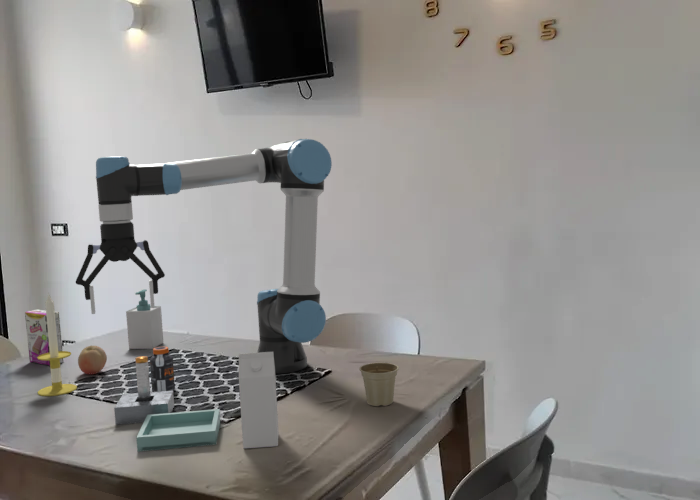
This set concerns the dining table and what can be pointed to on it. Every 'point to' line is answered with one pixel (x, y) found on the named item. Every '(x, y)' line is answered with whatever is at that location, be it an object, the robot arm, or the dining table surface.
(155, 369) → the pill bottle
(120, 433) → the dining table surface
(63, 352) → the candle
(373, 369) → the flower pot
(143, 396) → the pin
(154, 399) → the block
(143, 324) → the soap bottle
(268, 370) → the milk carton
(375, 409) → the dining table surface
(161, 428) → the tray
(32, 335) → the candy bar box
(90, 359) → the fruit
